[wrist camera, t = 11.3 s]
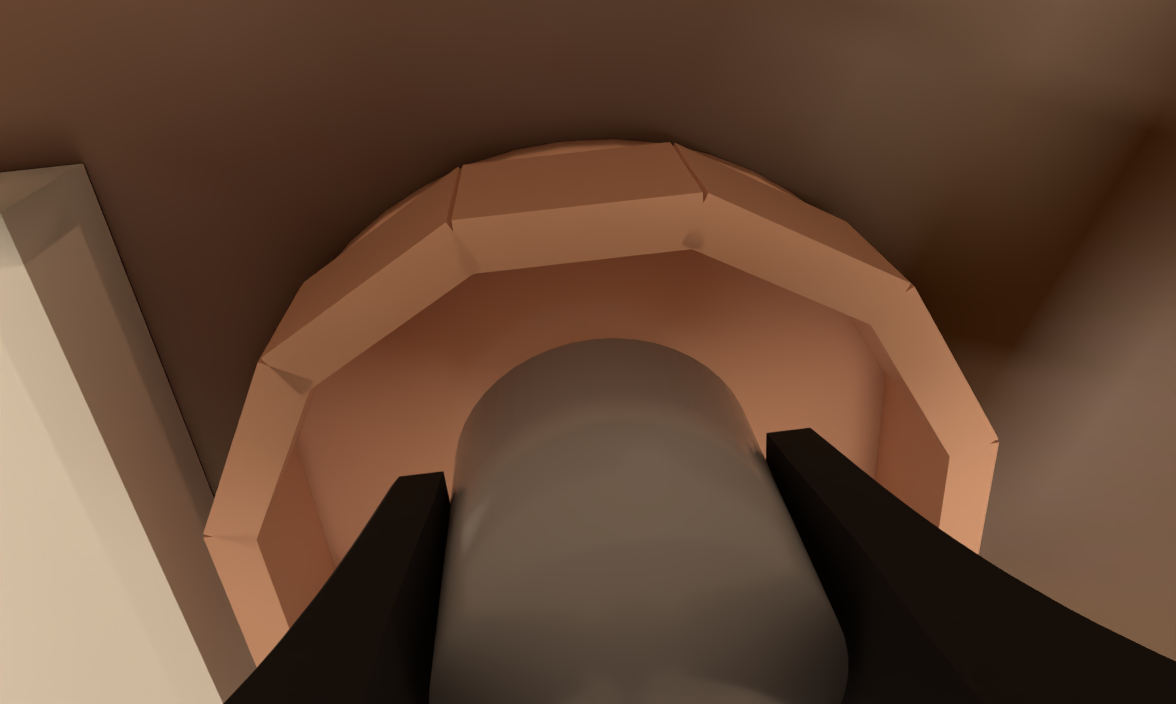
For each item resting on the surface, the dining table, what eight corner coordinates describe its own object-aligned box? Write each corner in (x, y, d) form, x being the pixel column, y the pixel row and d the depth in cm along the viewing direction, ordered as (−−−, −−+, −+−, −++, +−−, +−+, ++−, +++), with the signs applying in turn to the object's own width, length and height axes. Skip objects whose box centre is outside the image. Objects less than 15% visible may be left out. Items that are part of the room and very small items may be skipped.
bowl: (877, 631, 20) (940, 759, 17) (355, 696, 20) (327, 838, 17) (936, 100, 14) (1051, 153, 11) (183, 182, 14) (88, 260, 11)
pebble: (751, 564, 13) (837, 801, 10) (479, 597, 13) (465, 848, 10) (754, 320, 11) (864, 512, 8) (428, 357, 11) (388, 569, 7)
